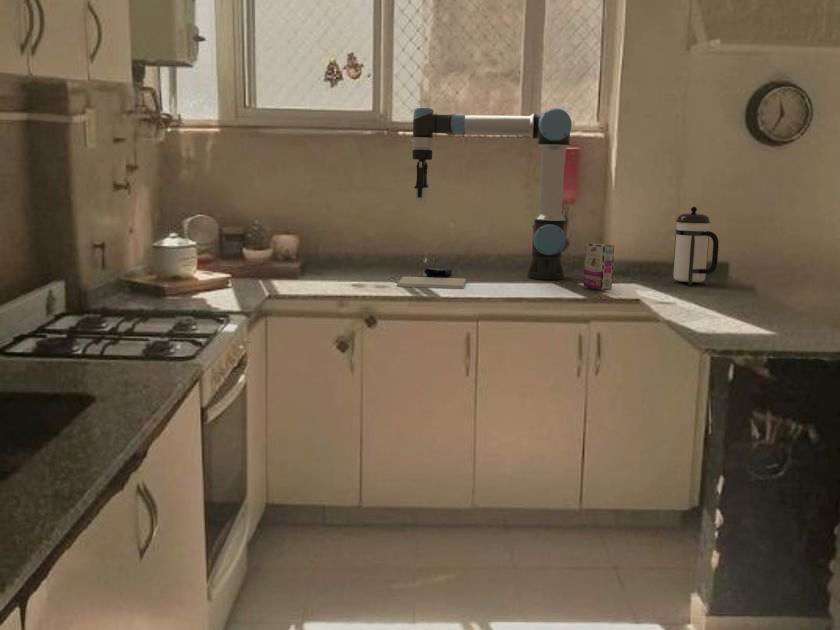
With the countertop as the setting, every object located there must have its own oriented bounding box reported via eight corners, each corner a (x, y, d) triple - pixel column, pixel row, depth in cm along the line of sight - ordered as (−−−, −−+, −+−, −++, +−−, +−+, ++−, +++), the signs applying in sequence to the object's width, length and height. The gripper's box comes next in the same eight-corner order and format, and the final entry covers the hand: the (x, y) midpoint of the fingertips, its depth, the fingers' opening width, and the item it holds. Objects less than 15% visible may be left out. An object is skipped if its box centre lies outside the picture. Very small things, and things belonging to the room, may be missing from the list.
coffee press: (668, 285, 351) (673, 206, 346) (669, 280, 366) (674, 205, 361) (715, 288, 346) (721, 208, 341) (715, 283, 361) (720, 206, 356)
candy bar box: (612, 290, 335) (615, 245, 332) (601, 290, 332) (604, 245, 330) (593, 286, 344) (595, 242, 342) (582, 286, 342) (584, 242, 339)
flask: (424, 268, 359) (432, 267, 369) (423, 275, 359) (431, 274, 370) (446, 270, 356) (454, 268, 367) (446, 277, 357) (453, 276, 367)
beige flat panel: (465, 281, 348) (465, 278, 348) (463, 288, 329) (463, 285, 329) (403, 279, 350) (403, 276, 350) (397, 286, 331) (397, 283, 331)
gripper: (415, 149, 359) (414, 203, 363) (409, 148, 335) (408, 206, 338) (434, 149, 358) (433, 204, 362) (429, 148, 334) (428, 207, 337)
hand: (421, 205), depth 350 cm, fingers open, 13 cm apart
